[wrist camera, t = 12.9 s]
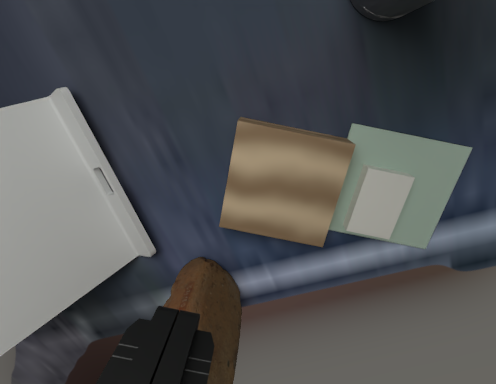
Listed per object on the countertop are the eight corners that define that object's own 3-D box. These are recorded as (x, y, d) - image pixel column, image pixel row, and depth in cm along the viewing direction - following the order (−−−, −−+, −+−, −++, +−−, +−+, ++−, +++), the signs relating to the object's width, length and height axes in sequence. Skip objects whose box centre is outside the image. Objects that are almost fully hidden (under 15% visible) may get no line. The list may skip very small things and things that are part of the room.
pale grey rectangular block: (415, 177, 37) (408, 173, 39) (368, 168, 37) (363, 163, 39) (389, 239, 41) (383, 232, 42) (346, 230, 40) (342, 224, 42)
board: (240, 116, 38) (237, 120, 35) (347, 138, 39) (355, 144, 35) (223, 214, 43) (219, 226, 40) (317, 233, 43) (322, 247, 40)
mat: (351, 123, 38) (352, 123, 38) (470, 147, 38) (472, 147, 38) (319, 227, 43) (320, 227, 43) (424, 248, 43) (425, 249, 43)
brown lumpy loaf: (247, 298, 48) (235, 436, 29) (207, 313, 50) (171, 453, 31) (215, 245, 45) (178, 361, 26) (173, 263, 47) (111, 384, 28)
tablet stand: (66, 277, 49) (-30, 370, 33) (-31, 134, 42) (-216, 165, 26) (163, 245, 46) (108, 331, 30) (77, 84, 38) (-58, 85, 23)
